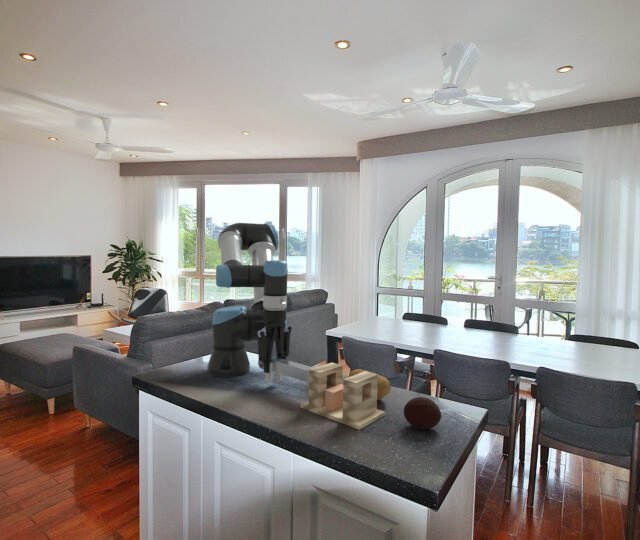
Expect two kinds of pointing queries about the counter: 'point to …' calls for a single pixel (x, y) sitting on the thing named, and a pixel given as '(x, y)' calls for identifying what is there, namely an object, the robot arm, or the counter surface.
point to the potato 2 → (422, 413)
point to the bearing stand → (344, 396)
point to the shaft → (290, 369)
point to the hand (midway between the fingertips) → (273, 380)
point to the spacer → (334, 397)
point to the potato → (382, 385)
